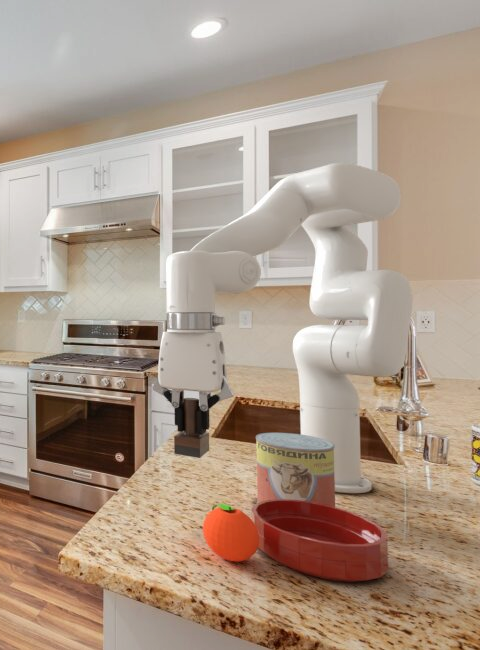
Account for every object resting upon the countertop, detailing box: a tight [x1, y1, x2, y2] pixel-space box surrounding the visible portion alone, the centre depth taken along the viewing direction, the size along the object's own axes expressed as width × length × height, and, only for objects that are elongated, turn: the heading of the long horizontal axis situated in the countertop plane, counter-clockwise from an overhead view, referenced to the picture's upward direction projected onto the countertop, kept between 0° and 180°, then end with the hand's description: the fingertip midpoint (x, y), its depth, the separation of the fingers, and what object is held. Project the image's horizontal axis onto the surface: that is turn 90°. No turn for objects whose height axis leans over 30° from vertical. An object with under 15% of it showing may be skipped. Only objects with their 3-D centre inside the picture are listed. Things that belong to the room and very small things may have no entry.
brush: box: [173, 397, 210, 459], centre depth 81 cm, size 6×4×9 cm, turn 140°
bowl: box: [251, 499, 389, 583], centre depth 67 cm, size 15×15×5 cm
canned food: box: [255, 431, 336, 507], centre depth 82 cm, size 11×11×12 cm
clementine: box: [202, 503, 259, 562], centre depth 67 cm, size 8×7×7 cm
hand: (191, 430), depth 81 cm, fingers closed on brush, 2 cm apart
